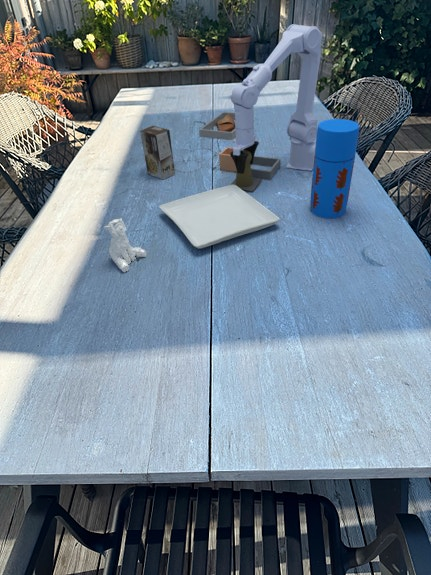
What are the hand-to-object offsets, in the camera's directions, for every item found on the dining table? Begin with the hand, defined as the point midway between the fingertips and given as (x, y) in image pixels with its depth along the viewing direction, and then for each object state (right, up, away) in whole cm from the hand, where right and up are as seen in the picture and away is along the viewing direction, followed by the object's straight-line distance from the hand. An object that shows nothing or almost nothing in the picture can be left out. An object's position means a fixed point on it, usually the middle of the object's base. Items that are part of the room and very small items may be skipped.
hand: (245, 168), depth 137 cm
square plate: (-9, -20, -13) cm, 26 cm away
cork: (0, -4, +4) cm, 6 cm away
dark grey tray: (-4, +32, +49) cm, 59 cm away
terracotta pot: (-4, +5, +16) cm, 17 cm away
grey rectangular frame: (+6, +2, +12) cm, 13 cm away
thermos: (+24, -16, -12) cm, 32 cm away
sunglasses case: (-5, +32, +50) cm, 59 cm away
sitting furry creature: (-34, -33, -27) cm, 54 cm away
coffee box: (-30, +2, +15) cm, 34 cm away
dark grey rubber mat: (0, -5, +4) cm, 6 cm away
